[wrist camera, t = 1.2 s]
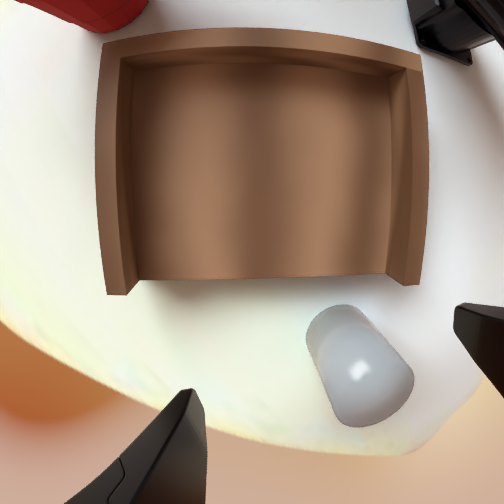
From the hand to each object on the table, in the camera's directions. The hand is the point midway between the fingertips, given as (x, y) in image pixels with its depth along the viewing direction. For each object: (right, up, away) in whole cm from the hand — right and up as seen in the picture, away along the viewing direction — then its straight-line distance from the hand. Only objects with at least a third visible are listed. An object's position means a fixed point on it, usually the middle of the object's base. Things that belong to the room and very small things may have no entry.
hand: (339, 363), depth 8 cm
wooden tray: (-2, +9, +11) cm, 14 cm away
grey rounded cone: (+4, -3, +14) cm, 15 cm away
